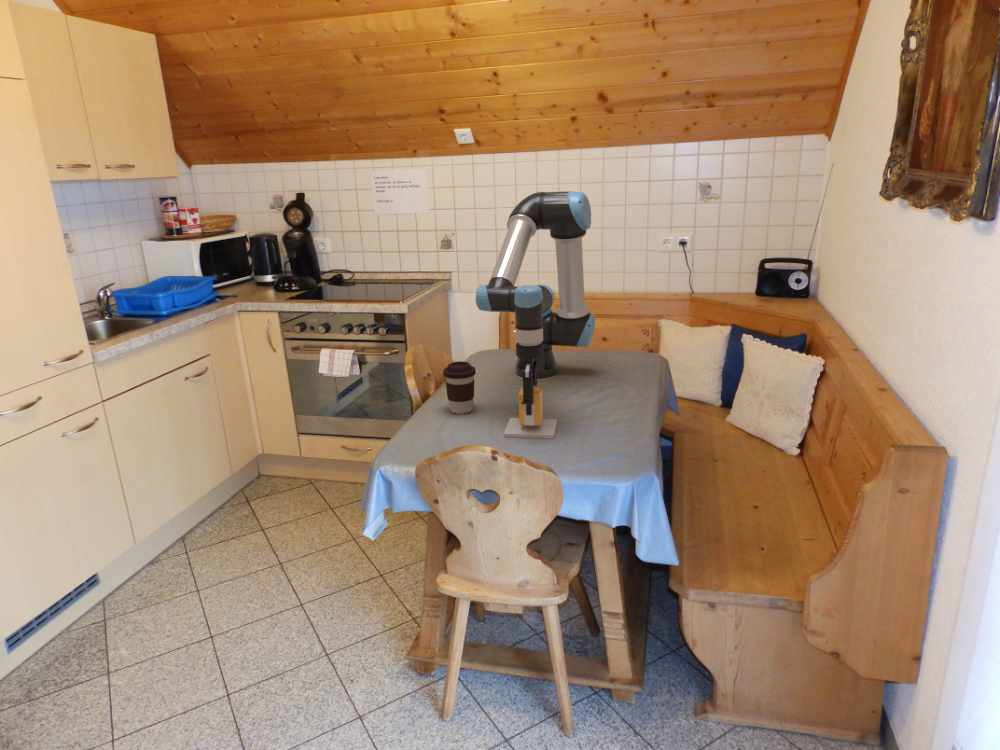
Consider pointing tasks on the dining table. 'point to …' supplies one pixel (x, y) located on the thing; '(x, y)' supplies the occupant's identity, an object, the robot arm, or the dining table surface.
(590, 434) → the dining table surface
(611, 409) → the dining table surface
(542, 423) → the white pegged board
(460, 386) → the coffee cup
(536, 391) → the orange toy brick
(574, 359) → the dining table surface
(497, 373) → the dining table surface
